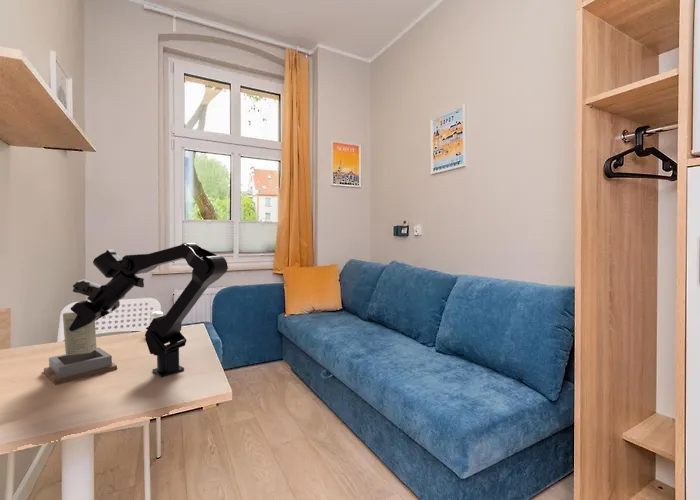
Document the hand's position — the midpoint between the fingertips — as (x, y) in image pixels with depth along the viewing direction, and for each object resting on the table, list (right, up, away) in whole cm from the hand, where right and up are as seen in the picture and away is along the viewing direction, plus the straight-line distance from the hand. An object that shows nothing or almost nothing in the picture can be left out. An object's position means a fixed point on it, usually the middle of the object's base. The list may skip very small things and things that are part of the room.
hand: (74, 328), depth 99 cm
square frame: (+1, -11, +1) cm, 12 cm away
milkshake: (+3, -11, +38) cm, 40 cm away
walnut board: (+1, -12, +1) cm, 13 cm away
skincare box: (+1, -7, +1) cm, 8 cm away
